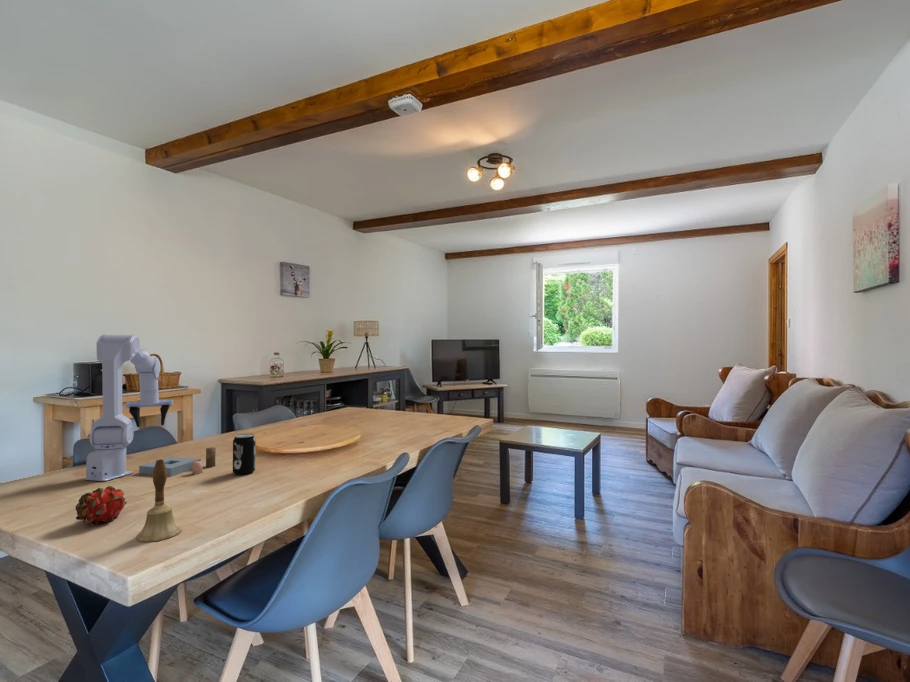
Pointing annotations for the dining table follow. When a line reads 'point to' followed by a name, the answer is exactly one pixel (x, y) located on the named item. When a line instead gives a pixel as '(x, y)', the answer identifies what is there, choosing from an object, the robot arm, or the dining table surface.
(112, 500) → the dragon fruit
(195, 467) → the short pin
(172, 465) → the hole block
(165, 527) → the hand bell
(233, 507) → the dining table surface
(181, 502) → the dining table surface
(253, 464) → the beverage can
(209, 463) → the long pin
